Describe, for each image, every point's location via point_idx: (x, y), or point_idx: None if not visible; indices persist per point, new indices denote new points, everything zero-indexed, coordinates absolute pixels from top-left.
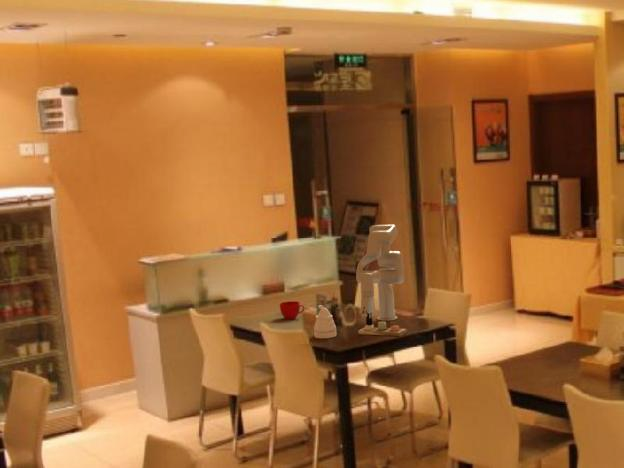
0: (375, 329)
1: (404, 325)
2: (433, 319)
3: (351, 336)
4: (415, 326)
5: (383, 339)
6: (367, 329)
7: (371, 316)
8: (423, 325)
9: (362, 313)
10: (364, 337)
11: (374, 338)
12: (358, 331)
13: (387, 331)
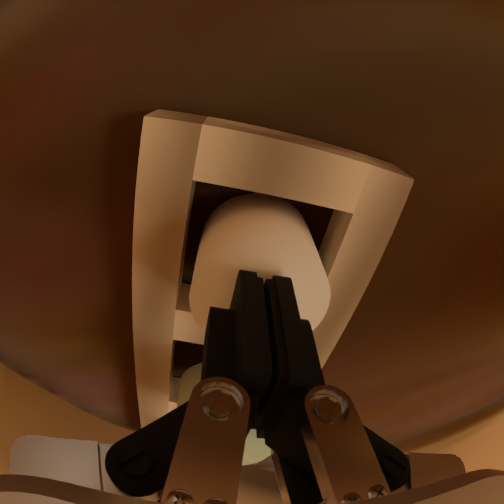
0: None
1: (453, 393)
2: (493, 423)
3: (18, 80)
4: (403, 434)
5: (33, 372)
6: (199, 250)
7: (275, 463)
8: (410, 444)
9: (35, 491)
10: (16, 242)
11: (25, 324)
12: (147, 115)
13: (156, 413)
